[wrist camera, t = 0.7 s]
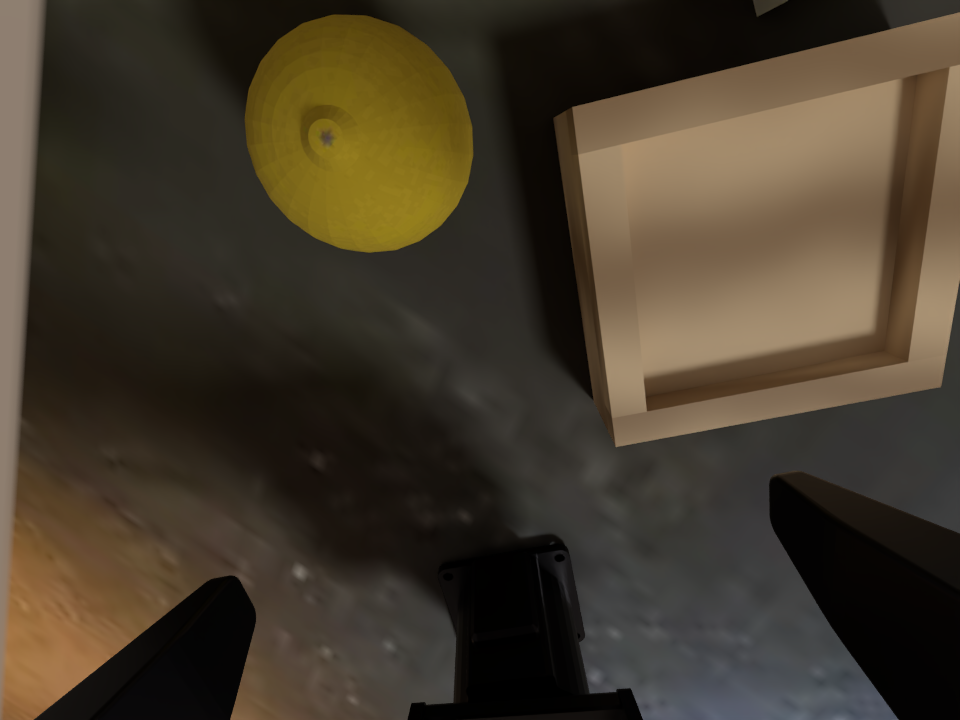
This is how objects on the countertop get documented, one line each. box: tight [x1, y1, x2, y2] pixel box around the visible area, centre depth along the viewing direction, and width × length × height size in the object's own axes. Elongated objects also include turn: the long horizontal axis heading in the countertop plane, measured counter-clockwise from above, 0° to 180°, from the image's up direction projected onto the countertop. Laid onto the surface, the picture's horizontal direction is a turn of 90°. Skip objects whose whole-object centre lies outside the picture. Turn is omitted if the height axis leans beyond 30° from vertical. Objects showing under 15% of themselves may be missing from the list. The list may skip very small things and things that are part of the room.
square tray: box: [553, 13, 960, 447], centre depth 16 cm, size 11×11×4 cm
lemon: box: [245, 15, 473, 252], centre depth 13 cm, size 6×6×8 cm
